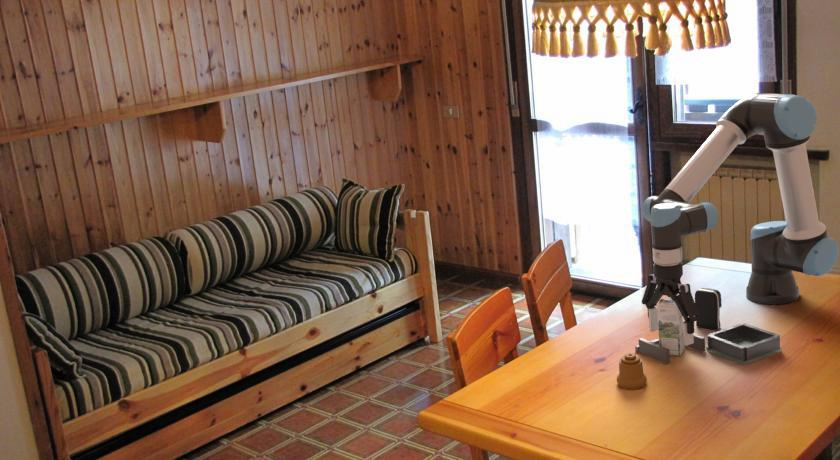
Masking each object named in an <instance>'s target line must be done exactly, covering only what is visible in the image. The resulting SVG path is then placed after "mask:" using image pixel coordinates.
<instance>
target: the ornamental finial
mask: <svg viewBox="0 0 840 460" xmlns="http://www.w3.org/2000/svg"><path fill="white" fill-rule="evenodd" d="M643 366H644V365H643V360H642V357H641V358H640V356H638V355H636V354H635V353H625V354H624V355H623V356H622V357H621V358H619V360H618V370H619V371H618V373H619V374H618V375H617V377H616V383H617V385H618V386H619V387H620V388H622V389H624V388H625V390H638V389H641V388H644V387H645V386H646V384H647V382H648V378H647V375H646V374H645V373H644V367H643Z"/></svg>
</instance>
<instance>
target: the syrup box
mask: <svg viewBox="0 0 840 460" xmlns="http://www.w3.org/2000/svg"><path fill="white" fill-rule="evenodd" d="M656 307H657V310H658V329H659V330H658V338H659V345H660V346H662V347H665V348H667V349H669V351H670V357H671V356H672V357H673V356H674V357H681V356H682V355H683V352H684V349H685V346H684V339H683V322H684V320H683V319H684V318H683V316H682V314H681V312H680V310H679V309H678V307H677V305H676V303H675V301H673V300H672V299H671V298H670V299H669V298H661V299H660V300H659V301H658V303H657V306H656Z"/></svg>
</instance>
